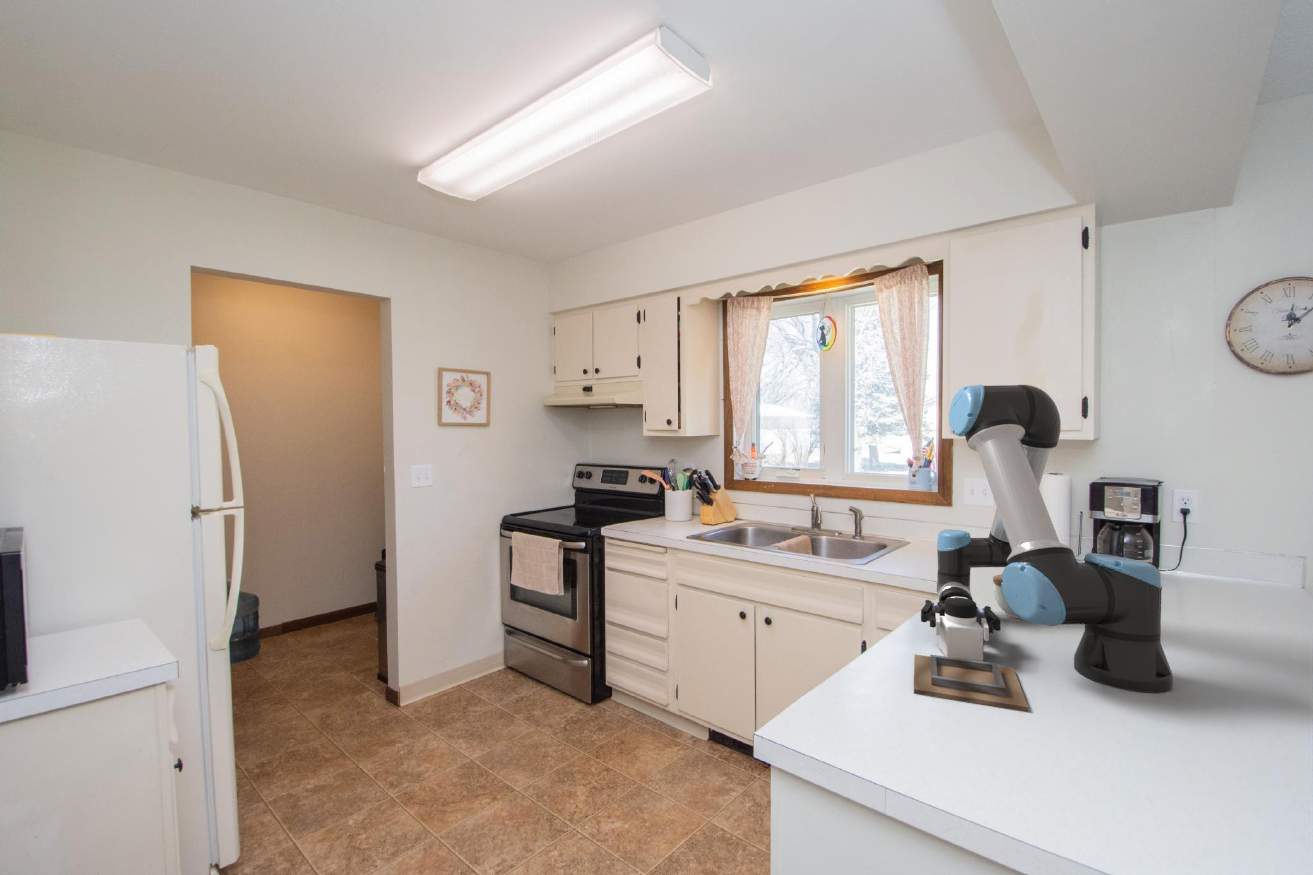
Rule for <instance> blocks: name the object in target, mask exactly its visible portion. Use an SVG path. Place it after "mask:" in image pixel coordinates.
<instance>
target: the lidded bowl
mask: <svg viewBox="0 0 1313 875" xmlns="http://www.w3.org/2000/svg"><path fill="white" fill-rule="evenodd" d="M1001 576H1002V573H1001V574H996V575H994V576H992V582H993V595H994V599H995V601H996V603H997V605H998V606H999V608H1000V609H1001V610H1002V611H1003V612H1004V614H1005V615H1006V616H1008V617H1011V618H1016V619H1020V620H1023V619H1022V618H1020V617H1018V616H1017V615H1016V614H1015V613H1014V612H1013V610H1012V609H1011V608H1010V606H1009V605H1008V603H1007V601H1006V599H1005V597H1004V594H1003V591H1002V585H1001V583H1002V582H1003V580H1002V579H1001Z"/></svg>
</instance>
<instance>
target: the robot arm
mask: <svg viewBox="0 0 1313 875" xmlns="http://www.w3.org/2000/svg"><path fill="white" fill-rule="evenodd" d="M1058 409H1059V408H1058V407H1057V404H1056V403H1055V401H1054V400H1053V398H1051V396H1050V395H1049V393H1047V392H1046V391H1044V390H1042V389H1041V388H1039V387H1037V386H1034V385H1029V384H1013V385H1012V384H1010V385H1008V384H1007V385H1005V384H1003V385H983V384H976V385H966V386H963V387H961V388H959V389H958V390H957V392H956V393H955V394H954V395H953V398H952V399H951V402H950V406H949V411H948V426H949V428H950V431H951V433H953V435H955V436H957V437H965V440H966V443H967V446H968V448H969V449H970V450H972V451H974V452H976V453H978V457H979V458H980V461H981V465H982V467H983V470H984V473H985V477H986V479H987V483H988V486H989V488H990V491H991V494H992V496H993V499H994V502H995V506H996V508H995V512H994V517H993V520H992V522H991V527H990V531H989V535H988V536H987V537H971V534H970V532H968V531H967V530H963V529H942V530H940V531H939V532H938V535H937V544H936V546H937V547H936V549H937V582H936V592H937V596H938V597H937V598H938V602H937V603H935V602H934V601H931V600H930V599H926V600H924V601H925V602H924V603H925V604H924V605H923V607H922V608H921V609H920V622H921V623H927V622H929V627H931V628H935V632H936V635H937V636H939V635H940V616H945V600H946V599H947V598H950V597H964V598H968V599H971V600H972V601H974V598H973V596H972V593H971V570H972V569H971V568H974V569H975V568H977V569H978V568H1003V570H1002V572H1001V574H1002V576H1001V579H1002V580H1003V582H1002V583H1001V585H1002V591H1003V594H1004V597H1005V599H1006V601H1007V603H1008V605H1009V606H1010V608H1011V609H1012V610H1013V612H1014V613H1015V614H1016V615H1017V616H1018V617H1020V618H1022V619H1021V620H1022V621H1024V622H1026V623H1028V624H1031V625H1043V626H1044V625H1045V626H1050V627H1056V626H1059V625H1063V626H1064V625H1084V632H1083V633H1082V635H1081V638H1080V641H1079V642H1078V645H1077V648H1076V650H1075V653H1074V655H1073V667H1074V668H1073V669H1074V670H1075V671H1076V672H1078V674H1080V675H1082V676H1084V677H1085V678H1087V679H1090V680H1092V681H1094V682H1096V683H1100V684H1103V685H1107V686H1108V687H1109V686H1110V687H1113V688H1117V689H1120V690H1121V689H1122V690H1127V691H1133V692H1142V693H1162V692H1167V691H1169V690H1172V689H1173V687H1174V685H1173V684H1174V676H1173V672H1172V669H1171V666H1170V663H1169V662H1168V658H1167V656H1166V654H1165V650H1164V649H1163V646H1162V642H1161V640H1162V639H1161V638H1162V637H1161V636H1162V635H1161V632H1162V630H1161V629H1162V628H1161V626H1162V624H1161V623H1162V622H1161V619H1162V590H1163V587H1162V584H1161V573H1160V570H1159V569H1158V567H1156V566H1155V565H1154V564H1151V563H1149V562H1145V561H1141V560H1137V559H1133V558H1127V557H1123V556H1117V555H1112V554H1103V553H1095V552H1094V553H1093V552H1089V553H1085V555H1084V556H1085V557H1084V558H1083V562H1078V561H1077V558H1076V555H1075V553H1074V551H1073V549H1072V547H1070V546H1068V545H1066V544H1064V543H1062V542H1061V541H1060V539H1059V536H1058V534H1057V532H1056V529H1055V527H1054V523H1053V521H1052V519H1051V516H1050V513H1049V511H1048V508H1047V506H1046V503H1045V500H1044V498H1043V496H1042V492H1041V490H1040V485H1041V482H1042V479H1043V475H1044V471H1045V468H1046V466H1047V462H1048V460H1049V455H1050V452H1051V451H1052V450H1054V449H1056V448H1057V446H1058V442H1059V439H1060V435H1061V429H1062V428H1061V426H1062V424H1061V415H1060V412H1059V410H1058ZM991 609H992V608H991V606H989V605H986V606H982V607H981V608H979V607H978V605H976V622H977V623H978V624H979V625H980V626H981V627H982V628H983V629H984V642H989V641H990V638H989V637H990V634H993V633H994V631H996V632H1000V631H1001V618H1000V617H999V616H998V615H997V614H996V613H995V612H993V610H991ZM1020 618H1019V619H1020Z"/></svg>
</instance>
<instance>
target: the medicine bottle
mask: <svg viewBox="0 0 1313 875" xmlns="http://www.w3.org/2000/svg"><path fill="white" fill-rule="evenodd" d="M976 606H977V603H976V601H974V600H973V601H972V600H971V599H968V598H964V597H950V598H947V599H946V600H945V616H940V635H938V648H939V650H940V651H941V652H942V654H943V656H945V657H953V658H960V659H967V660H975V661H982V662H984V659H985V658H984V657H985V656H984V652H985V651H984V647H985V646H984V645H985V644H984V642H985V640H984V629H983V628H982V627H981V626H980V625H979V624H978V623H977V622H976Z"/></svg>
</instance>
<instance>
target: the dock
mask: <svg viewBox="0 0 1313 875" xmlns="http://www.w3.org/2000/svg"><path fill="white" fill-rule="evenodd" d="M913 660H914V661H913V662H914V663H913V666H914V667H913V694H915V695H916V694H917V695H923V696H927V697H928V696H929V697H933V698H941V699H948V700H951V701H952V700H953V701H961V702H966V703H971V702H972V703H973V704H979V705H985V706H989V707H990V706H991V707H995V708H996V707H997V708H1002V709H1010V710H1015V711H1021V712H1028V713H1029V706H1028V703H1027V699H1026V698H1025V695H1024V693H1023V690H1022V687H1021V684H1020V682H1019V679H1018V676H1017V674H1016V672H1015V669H1014V667H1011V666H1010V667H1009V666H1001V665H999V664H998V663H997V662H989V661H975V660H967V659H960V658H953V657H946V656H945V655H936V654H930V656H929V655H928V656H927V655H921V654H914V659H913Z"/></svg>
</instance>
